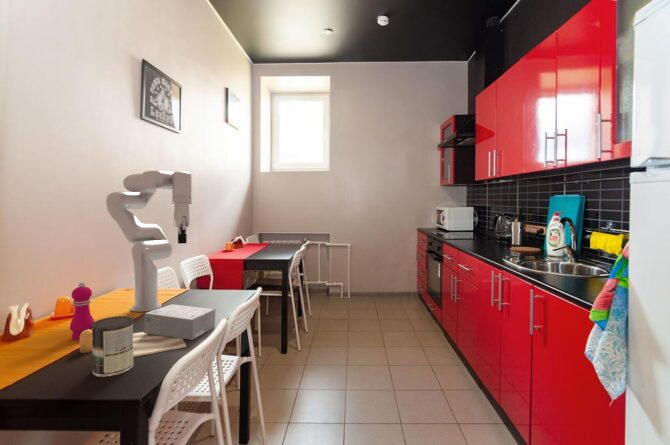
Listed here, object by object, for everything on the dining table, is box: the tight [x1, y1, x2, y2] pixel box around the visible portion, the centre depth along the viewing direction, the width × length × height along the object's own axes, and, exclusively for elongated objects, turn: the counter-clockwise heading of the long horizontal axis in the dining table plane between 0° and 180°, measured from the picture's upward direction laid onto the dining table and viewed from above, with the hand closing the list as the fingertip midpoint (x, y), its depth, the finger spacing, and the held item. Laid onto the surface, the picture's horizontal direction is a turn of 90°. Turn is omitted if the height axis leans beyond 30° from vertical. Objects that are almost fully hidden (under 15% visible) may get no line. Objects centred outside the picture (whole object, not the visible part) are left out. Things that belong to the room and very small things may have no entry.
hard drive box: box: [143, 303, 216, 341], centre depth 133 cm, size 16×8×20 cm
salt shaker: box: [79, 329, 93, 354], centre depth 115 cm, size 4×4×7 cm
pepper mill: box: [69, 282, 95, 341], centre depth 126 cm, size 7×7×20 cm
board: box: [133, 331, 187, 358], centre depth 123 cm, size 22×18×1 cm
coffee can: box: [91, 315, 134, 378], centre depth 102 cm, size 10×10×14 cm
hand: (182, 243), depth 151 cm, fingers closed
